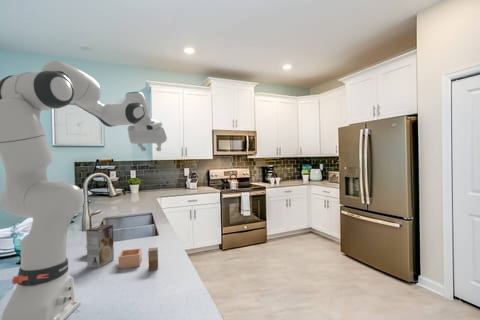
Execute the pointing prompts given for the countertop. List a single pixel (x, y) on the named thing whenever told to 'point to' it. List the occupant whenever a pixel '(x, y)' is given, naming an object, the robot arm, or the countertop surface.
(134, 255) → the peach cubby shelf
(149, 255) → the tan plain wooden block
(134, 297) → the countertop surface
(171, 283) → the countertop surface
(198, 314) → the countertop surface
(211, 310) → the countertop surface
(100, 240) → the coffee box
